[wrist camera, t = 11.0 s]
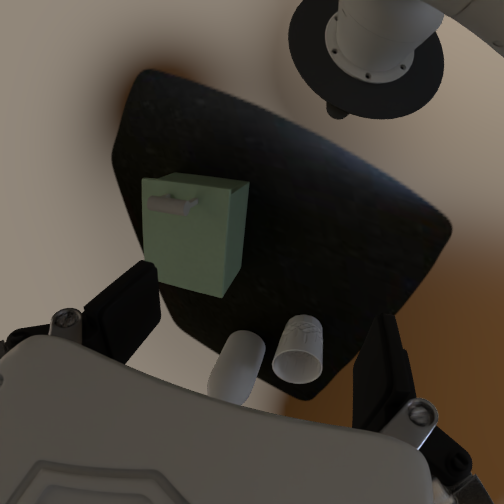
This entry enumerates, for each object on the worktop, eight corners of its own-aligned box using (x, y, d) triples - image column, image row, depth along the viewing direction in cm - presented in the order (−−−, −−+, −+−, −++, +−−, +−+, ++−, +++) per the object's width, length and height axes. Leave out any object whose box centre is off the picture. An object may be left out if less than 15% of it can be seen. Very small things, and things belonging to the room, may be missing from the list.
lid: (144, 177, 36) (121, 185, 32) (231, 188, 34) (216, 198, 30) (148, 275, 43) (130, 292, 39) (223, 295, 41) (210, 316, 36)
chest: (174, 172, 45) (144, 183, 37) (249, 181, 42) (231, 194, 35) (174, 253, 51) (148, 275, 43) (240, 268, 49) (223, 295, 41)
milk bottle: (225, 327, 55) (183, 405, 37) (263, 329, 53) (231, 414, 35) (232, 356, 58) (197, 432, 40) (268, 358, 56) (241, 440, 38)
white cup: (287, 346, 53) (278, 384, 44) (278, 313, 51) (266, 351, 42) (328, 342, 51) (325, 382, 42) (322, 308, 48) (318, 347, 39)
